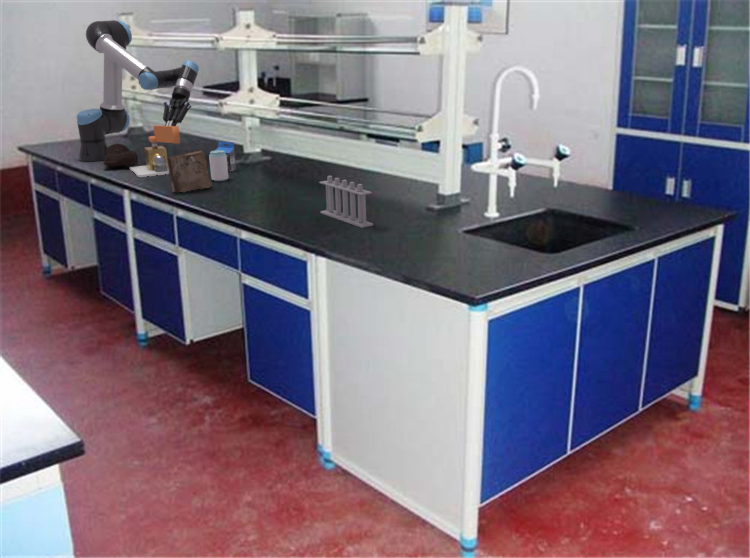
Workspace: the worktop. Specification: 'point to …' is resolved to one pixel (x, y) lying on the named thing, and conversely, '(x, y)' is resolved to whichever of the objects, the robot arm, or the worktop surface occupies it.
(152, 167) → the valve
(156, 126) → the lever
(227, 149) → the label tape cartridge
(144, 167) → the mount board
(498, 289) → the worktop surface
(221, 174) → the can
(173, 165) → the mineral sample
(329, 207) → the test tube rack
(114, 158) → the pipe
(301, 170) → the worktop surface
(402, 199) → the worktop surface
